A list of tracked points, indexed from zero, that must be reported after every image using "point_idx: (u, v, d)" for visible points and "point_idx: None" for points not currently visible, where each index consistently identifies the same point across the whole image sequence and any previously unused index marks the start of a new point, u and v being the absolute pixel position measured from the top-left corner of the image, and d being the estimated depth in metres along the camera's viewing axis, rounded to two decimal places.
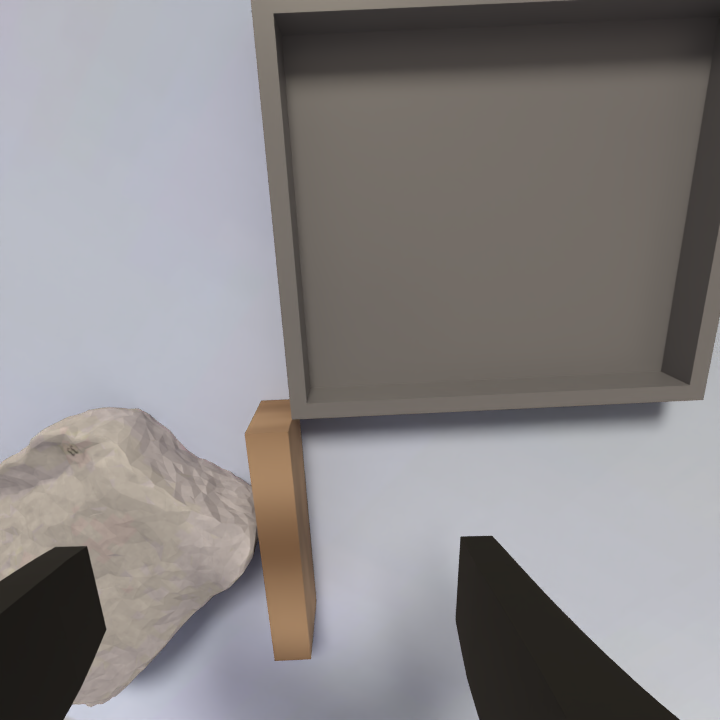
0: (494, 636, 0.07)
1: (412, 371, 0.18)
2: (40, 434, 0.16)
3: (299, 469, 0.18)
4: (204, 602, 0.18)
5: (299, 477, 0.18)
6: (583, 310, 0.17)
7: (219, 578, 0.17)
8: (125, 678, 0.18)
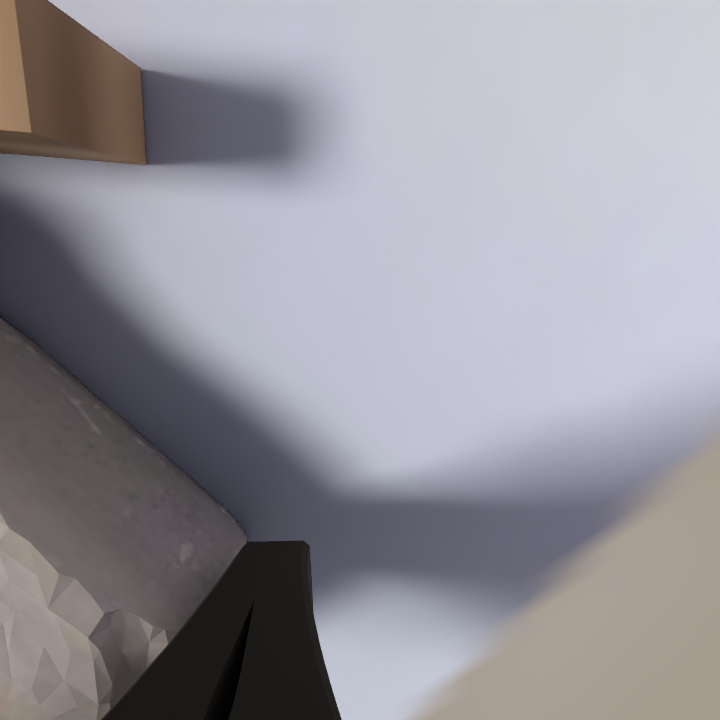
0: None
1: None
2: None
3: None
4: None
5: None
6: None
7: None
8: (23, 579, 0.06)
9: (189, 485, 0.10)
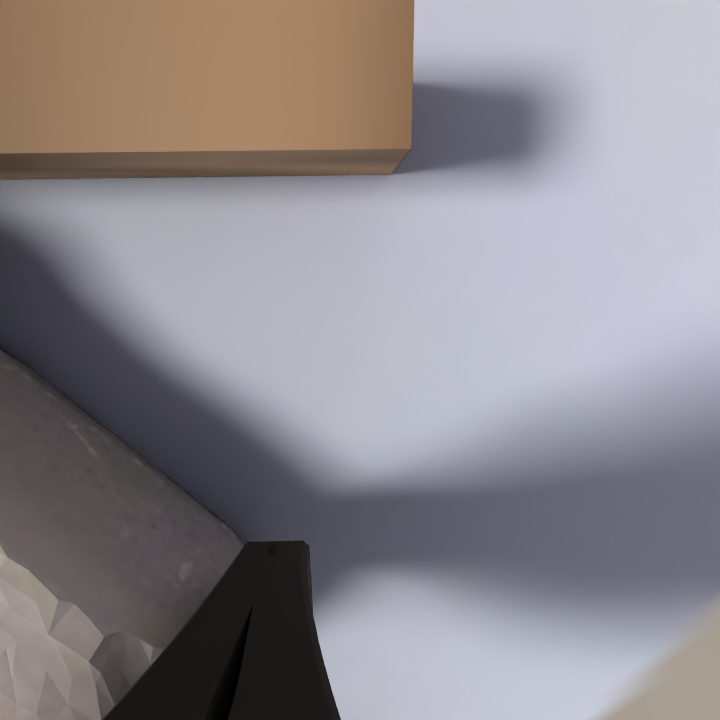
0: None
1: None
2: None
3: None
4: None
5: None
6: None
7: None
8: (23, 606, 0.06)
9: (188, 502, 0.10)
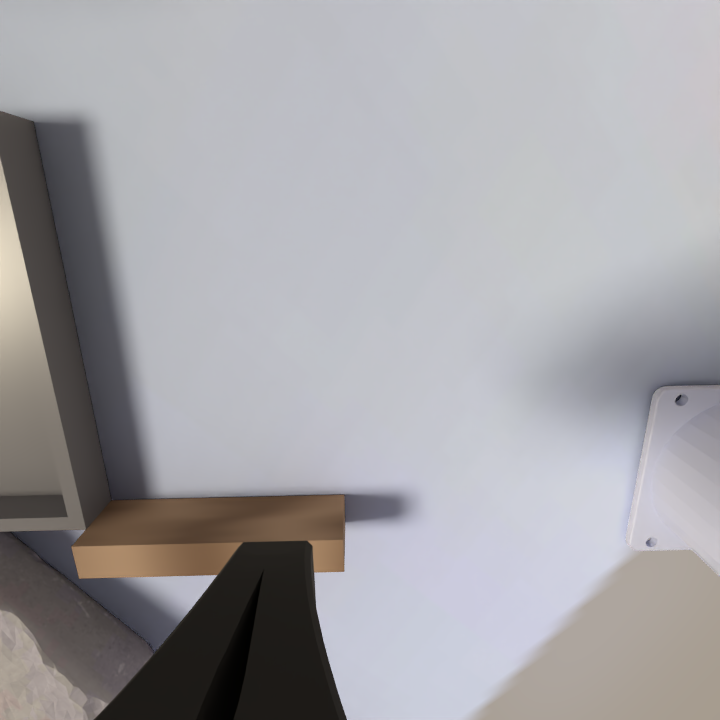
0: None
1: None
2: None
3: (155, 517, 0.19)
4: None
5: (159, 519, 0.19)
6: None
7: None
8: (61, 688, 0.19)
9: (127, 631, 0.22)
